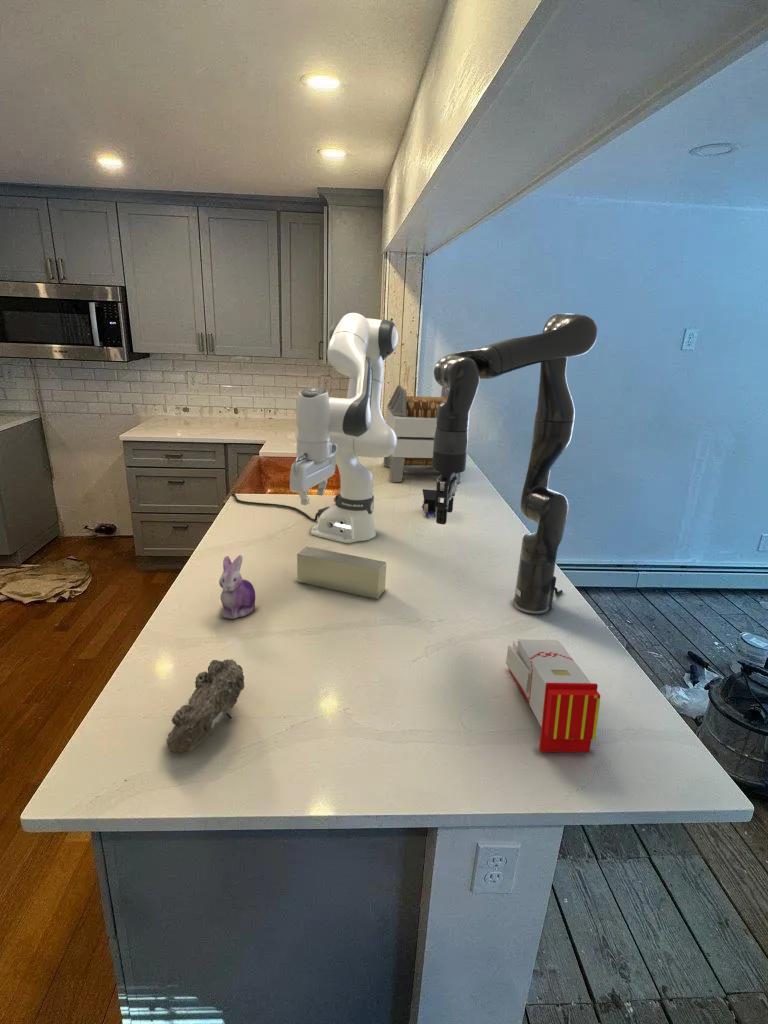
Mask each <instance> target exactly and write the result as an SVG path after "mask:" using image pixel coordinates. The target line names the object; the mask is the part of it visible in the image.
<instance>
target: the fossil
mask: <svg viewBox="0 0 768 1024" xmlns="http://www.w3.org/2000/svg"><path fill="white" fill-rule="evenodd" d="M243 670H244V669H243V667H242V665H240V664H237V662H236V661H235V660H234V659H232V658H231V659H227V658H226V659H224V660H223V661H222V660H217V659H212V660H211V661H210V663H209V665H208V666H207V671H201V672H199V673H198V674H197V675H196V676H195V680H194V684H195V685H194V687H195V689H194V690H193V693H192V694H191V697H190V698H189V700H188V704H184V705H182V706H181V707H180V709H177V710H176V711H175V713H174V715H173V716H172V718H171V723H172V724H173V727H172V730H171V731H170V732H168V734H167V738H166V741H167V742H166V745H167V749H168V750H169V751H173V752H174V753H176V754H178V753H182V752H188V751H189V752H192V751H193V750H195V748H196V747H197V746H199V744H200V743H201V742H203V741H204V740H205V739H206V738H207V737H208V736H209V735H210V734H211V733H212V732H214V730H215V729H217V727H218V726H219V724H220V722H221V721H222V720H223V719H224V718H225V716H226V717H227V719H229V720H233V717H232V715H230V714H229V710H230V709H231V708H234V706H235V704H236V703H237V702H238V699H239V697H240V695H241V693H242V691H243V690H245V689H244V688H245V675H244V671H243Z"/></svg>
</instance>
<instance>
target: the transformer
mask: <svg viewBox="0 0 768 1024" xmlns="http://www.w3.org/2000/svg"><path fill="white" fill-rule="evenodd" d="M449 391H450V389H448V388H444V387H442V386H441V392H440V393H441V394H440V396H415V395H414V396H413V395H412V396H411V395H407V394H408V393H407V390H406V389H404V388H403V387H402V385H399V384H398V385H397V386H396V388H395V390H394V392H393V394H392V395H391V398H390V400H389V402H388V404H387V405H386V413H385V414H386V415H385V422H386V423H387V424H388V425H389V426H390V427H391V428H392V429H393V431H394V432H395V434H396V437H397V445H396V449H395V451H394V452H393V453H392V454H391V455H390V456H389V457H383V466H384V467H388V468H389V475H388V476H389V477H388V478H389V480H390V482H391V483H402V482H403V475H404V469H405V466H406V467H407V466H411V467H412V466H413V467H415V466H416V467H417V466H418V467H431V466H432V459H433V446H434V436H435V431H436V422H437V410H438V406H439V404H440V403H441V402H443V401H447V398H448V395H449ZM461 473H462V472H461ZM461 473H458V475H457V478H458V480H457V484H459V483H461Z"/></svg>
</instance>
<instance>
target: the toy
mask: <svg viewBox="0 0 768 1024" xmlns="http://www.w3.org/2000/svg"><path fill="white" fill-rule="evenodd" d="M505 659H506V660H505V665H506V666H507V667H508V671H509V673H510V674H511V676H512V678H513V679H514V681H515V682H516V685H517V686H518V688H519V690H520V691H521V692H522V694H523V697H525V699H526V701H527V703H529V707H530V709H531V711H532V712H533V714H534V716H535V718H536V720H537V722H538V724H539V726H540V728H541V729H540V739H539V748H538V751H539V752H540V753H543V752H544V753H590V752H591V744H592V743H591V742H592V740H596V736H597V727H598V720H599V719H598V718H599V710H600V704H601V703H600V702H601V696H602V695H601V694H600V693H599V692H598V687H599V686H598V683H595V682H594V683H592V682H591V681H590V679H589V678H588V677H587V676H586V674H585V673H584V671H583V670H582V669H581V668H580V666H579V665H578V664H577V663H576V662H575V661H576V660H574V659H573V658H572V656H571V655H570V653H568V651H567V650H566V648H565V647H564V645H563V644H562V643H561V642H560V641H559V639H529V638H528V639H524V638H521V639H517V640H512V645H511V644H510V645H509V644H508V646H507V653H506V658H505Z"/></svg>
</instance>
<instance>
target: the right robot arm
mask: <svg viewBox="0 0 768 1024" xmlns="http://www.w3.org/2000/svg"><path fill="white" fill-rule="evenodd" d="M597 339H598V326H597V324H596V322H595V320H594V319H593V318H592V317H590V316H589V315H585V314H581V313H564V312H563V313H562V312H561V313H554V314H552V315H550V317H549V318H547V320H546V322H545V324H544V326H543V329H542V333H537V334H531V335H525V336H518V337H512V338H508V339H504V340H500V341H497V342H493V343H490V344H488V345H485V346H483V347H482V346H481V347H480V348H475V349H467V350H461V351H457V352H453V353H449V354H447V355H444V356H443V357H441V358H440V359H439V360H438V361H437V362H436V364H435V366H434V368H433V377H434V380H435V381H436V383H437V384H438V385H439V386H440V387H441V388H442V387H444V388H447V389H450V391H449V395H448V398H447V401H443V402H441V403H440V404H439V406H438V410H437V422H436V431H435V436H434V446H433V459H432V465H431V468H432V470H433V471H436V472H439V473H440V476H439V477H437V481H436V489H435V490H436V500H435V507H436V508H437V513H436V516H435V517H436V518H435V520H436V521H435V523H436V524H438V525H446V524H447V518H448V513H450V514H451V513H452V512H453V511H454V500H455V499H454V497H455V496H456V492H457V490H458V489H457V488H458V487H457V486H458V483H457V480H458V478H457V475H458V473H463V472H465V471H466V468H467V459H468V458H467V457H468V447H469V425H470V412H471V409H472V406H473V404H474V402H475V398H476V395H477V392H478V389H479V385H480V381H481V380H491V379H495V378H498V377H501V376H503V375H506V374H509V373H512V372H516V371H518V370H521V369H524V368H526V367H531V366H533V365H537V364H540V370H539V371H540V373H539V384H538V386H539V387H538V392H537V393H538V394H537V403H536V410H535V415H534V422H533V431H532V433H533V434H532V441H531V448H530V455H529V459H528V461H529V462H528V466H527V471H526V475H525V479H524V483H523V488H522V492H521V496H520V497H521V498H520V512H521V515H522V516H523V517H525V518H526V519H527V520H529V521H532V522H534V523H536V524H537V528H536V531H534V532H532V531H531V532H528V533H526V534H524V535H523V536H522V538H521V539H522V540H521V546H520V554H519V561H518V569H517V576H516V584H515V589H514V597H513V600H512V601H513V602H512V604H513V607H514V608H515V609H516V610H518V611H520V612H522V613H525V614H529V615H530V614H531V615H542V614H543V615H544V614H545V613H547V612H548V611H549V610H552V608H553V602H554V594H555V595H557V596H558V595H561V594H562V593H563V590H562V589H561V590H559V591H558V588H557V587H556V582H557V577H556V576H555V569H556V563H557V555H558V550H559V546H560V545H561V543H562V540H563V537H564V532H565V528H566V524H567V520H568V516H569V515H568V514H569V500H568V499H567V497H566V496H565V495H564V494H562V493H560V492H558V491H555V490H553V489H550V488H549V481H550V476H551V471H552V469H553V466H554V464H556V462H557V460H558V459H559V458H560V457H561V456H562V454H563V453H564V452H565V450H566V449H567V448H568V446H569V444H570V442H571V440H572V436H573V431H574V424H575V419H576V418H575V417H576V410H575V404H574V400H573V398H572V394H571V391H570V387H569V385H568V380H567V364H568V358H571V357H578V356H582V355H585V354H587V353H588V352H589V351H590V350H592V348H593V347H594V346H595V344H596V341H597ZM441 500H443V502H441Z"/></svg>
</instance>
